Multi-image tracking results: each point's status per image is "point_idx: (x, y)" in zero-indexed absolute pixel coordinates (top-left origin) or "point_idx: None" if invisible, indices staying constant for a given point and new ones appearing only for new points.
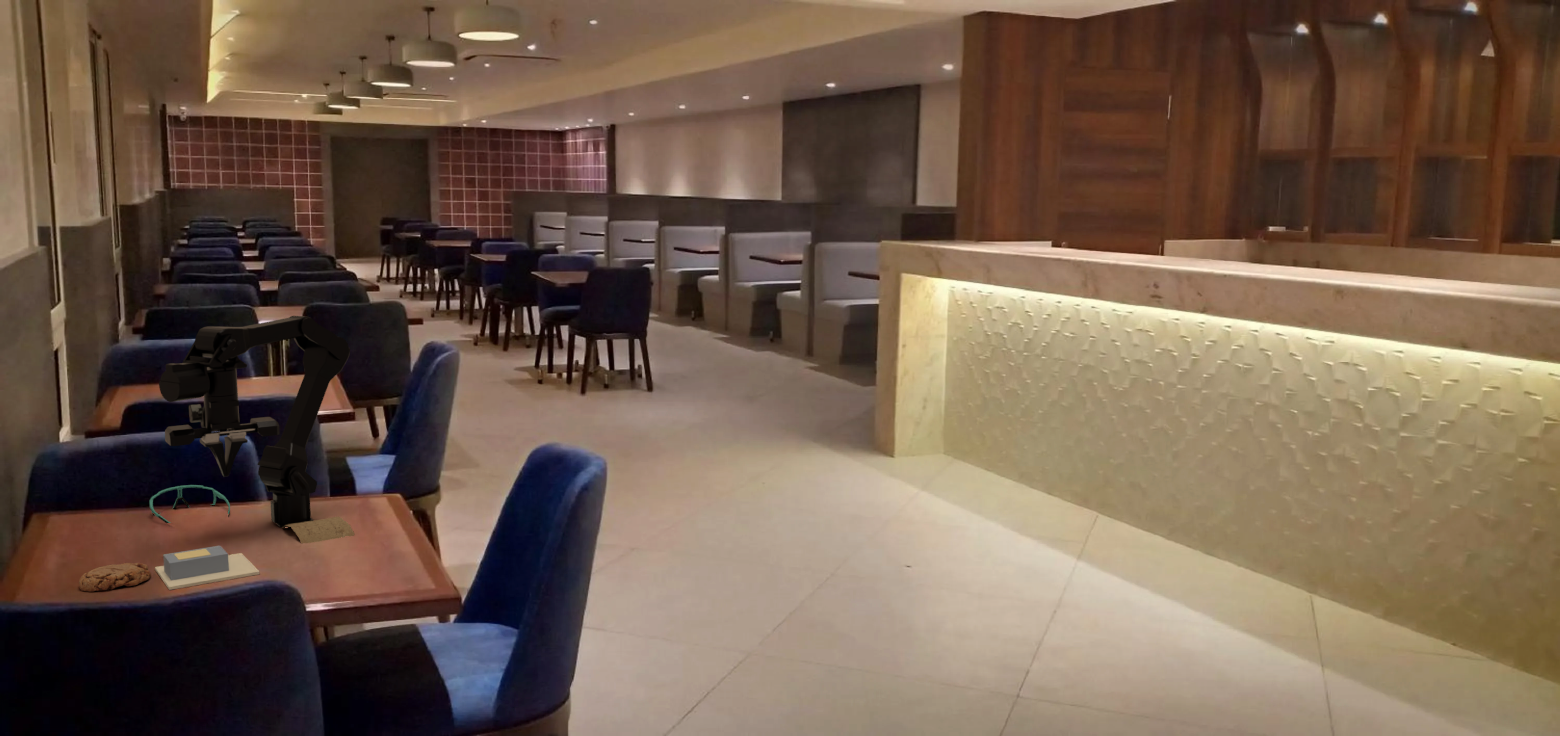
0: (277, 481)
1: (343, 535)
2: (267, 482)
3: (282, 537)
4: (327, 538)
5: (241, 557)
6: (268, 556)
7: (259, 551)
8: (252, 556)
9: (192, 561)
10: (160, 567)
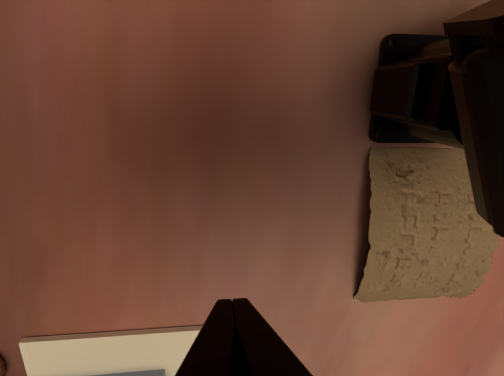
0: (476, 197)
1: (443, 294)
2: (456, 109)
3: (338, 229)
4: (408, 297)
5: None
6: None
7: None
8: None
9: None
10: (32, 351)
